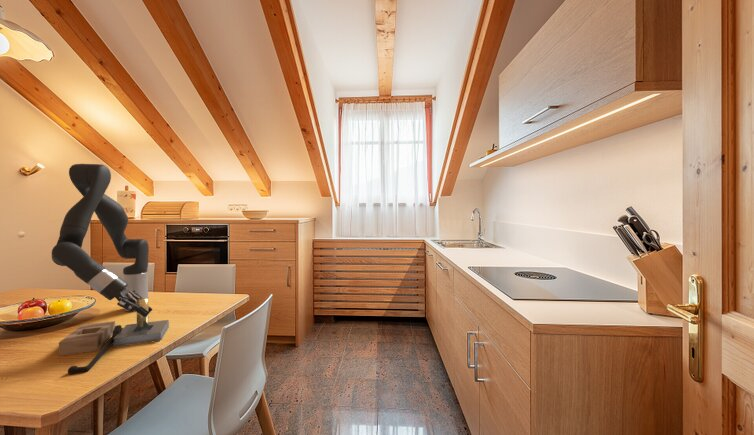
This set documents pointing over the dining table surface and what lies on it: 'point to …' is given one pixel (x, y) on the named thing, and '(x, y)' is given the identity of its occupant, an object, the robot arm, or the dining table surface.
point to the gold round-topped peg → (140, 319)
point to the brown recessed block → (86, 338)
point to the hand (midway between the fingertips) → (148, 313)
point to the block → (141, 333)
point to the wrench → (86, 368)
